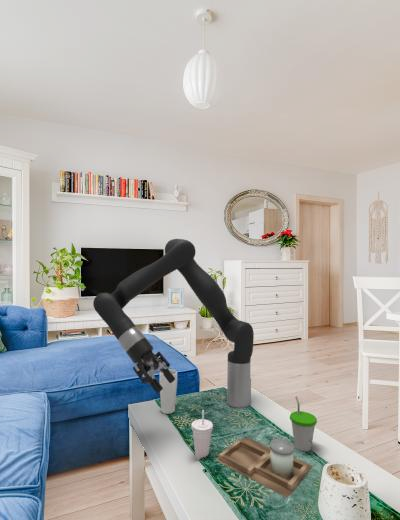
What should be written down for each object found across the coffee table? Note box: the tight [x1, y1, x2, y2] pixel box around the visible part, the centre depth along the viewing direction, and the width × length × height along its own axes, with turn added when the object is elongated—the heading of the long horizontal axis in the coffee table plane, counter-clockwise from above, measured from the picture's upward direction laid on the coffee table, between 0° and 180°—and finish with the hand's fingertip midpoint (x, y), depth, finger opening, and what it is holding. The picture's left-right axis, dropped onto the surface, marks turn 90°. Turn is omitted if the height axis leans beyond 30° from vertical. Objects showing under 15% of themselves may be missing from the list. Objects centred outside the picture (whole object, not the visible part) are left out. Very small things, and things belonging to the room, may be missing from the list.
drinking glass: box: [158, 368, 178, 415], centre depth 124 cm, size 7×7×15 cm
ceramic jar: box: [269, 438, 295, 479], centre depth 88 cm, size 6×6×7 cm
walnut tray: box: [215, 436, 314, 499], centre depth 91 cm, size 16×22×3 cm
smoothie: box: [190, 409, 214, 461], centre depth 96 cm, size 6×6×14 cm
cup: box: [289, 395, 318, 453], centre depth 99 cm, size 8×8×15 cm
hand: (167, 386), depth 100 cm, fingers open, 8 cm apart
